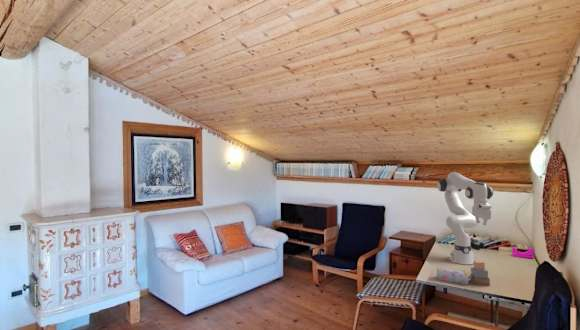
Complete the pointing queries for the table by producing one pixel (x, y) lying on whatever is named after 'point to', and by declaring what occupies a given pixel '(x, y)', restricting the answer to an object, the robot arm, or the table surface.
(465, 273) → the pencil case
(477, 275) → the tower top
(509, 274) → the table surface
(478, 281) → the tower bottom
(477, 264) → the terracotta cube
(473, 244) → the camera
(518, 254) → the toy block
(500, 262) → the table surface
